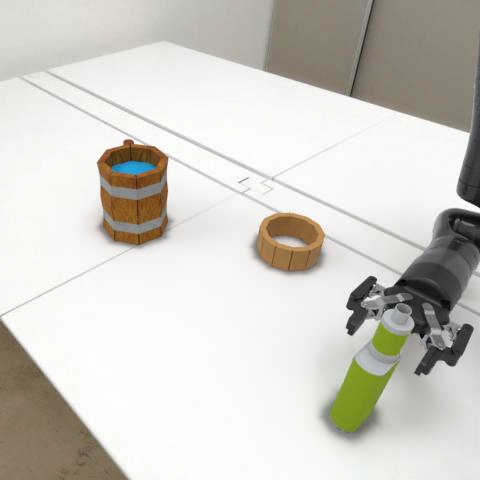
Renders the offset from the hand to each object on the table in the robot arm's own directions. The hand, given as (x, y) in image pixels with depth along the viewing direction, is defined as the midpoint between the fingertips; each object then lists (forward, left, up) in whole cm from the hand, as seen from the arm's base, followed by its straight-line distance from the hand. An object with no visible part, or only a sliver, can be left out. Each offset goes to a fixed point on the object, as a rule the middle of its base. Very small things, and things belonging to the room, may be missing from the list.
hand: (383, 350), depth 56 cm
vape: (+1, +3, -11) cm, 12 cm away
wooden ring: (+17, -27, -11) cm, 34 cm away
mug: (+49, -24, -11) cm, 56 cm away
